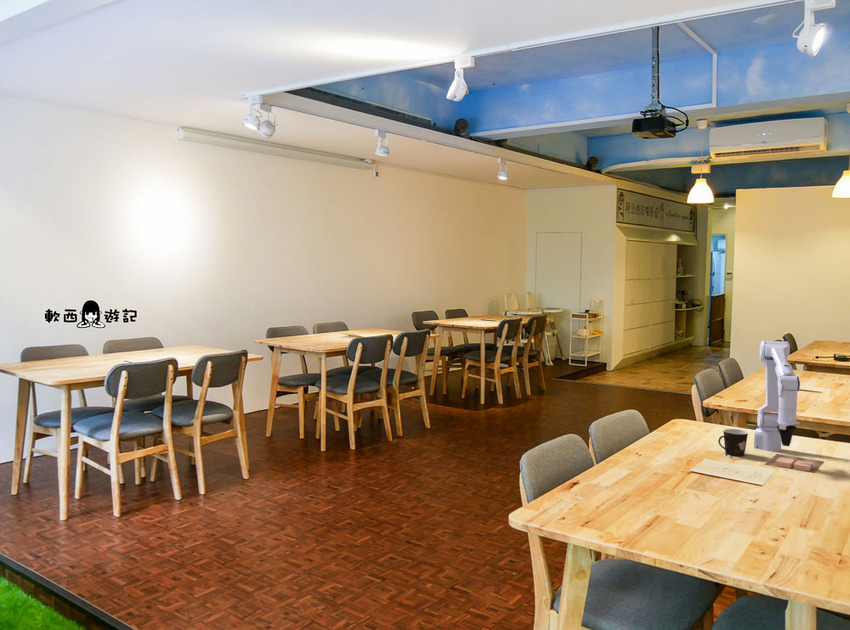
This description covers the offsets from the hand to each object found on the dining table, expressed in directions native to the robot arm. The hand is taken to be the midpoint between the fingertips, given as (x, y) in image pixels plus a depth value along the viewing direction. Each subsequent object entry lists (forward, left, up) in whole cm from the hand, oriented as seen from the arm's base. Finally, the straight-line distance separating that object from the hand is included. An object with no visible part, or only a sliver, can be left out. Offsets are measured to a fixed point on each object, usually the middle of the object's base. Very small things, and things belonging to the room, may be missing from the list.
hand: (786, 445), depth 247 cm
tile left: (0, +2, -6) cm, 7 cm away
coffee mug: (-19, +2, -9) cm, 21 cm away
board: (+2, +5, -8) cm, 10 cm away
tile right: (+6, +2, -6) cm, 9 cm away
